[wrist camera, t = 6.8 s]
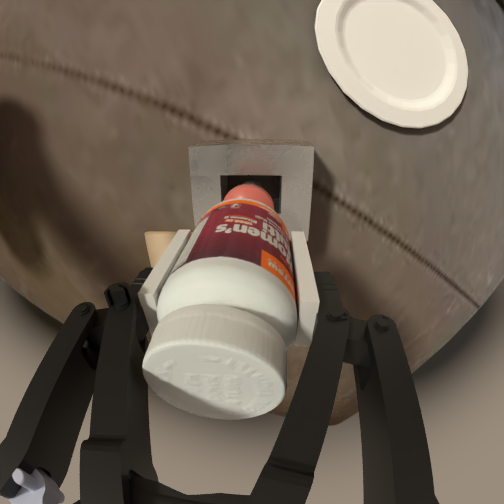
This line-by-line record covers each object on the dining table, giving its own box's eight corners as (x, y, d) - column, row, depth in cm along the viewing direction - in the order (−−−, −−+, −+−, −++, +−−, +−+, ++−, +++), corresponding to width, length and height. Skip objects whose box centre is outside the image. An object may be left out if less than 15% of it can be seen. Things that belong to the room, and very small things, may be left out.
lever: (230, 211, 29) (221, 237, 24) (229, 170, 27) (218, 187, 21) (272, 211, 29) (273, 238, 23) (273, 171, 27) (274, 188, 21)
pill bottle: (305, 219, 17) (341, 366, 8) (264, 289, 20) (257, 435, 10) (215, 180, 16) (138, 296, 7) (186, 258, 19) (124, 394, 10)
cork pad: (157, 286, 40) (156, 288, 39) (146, 231, 35) (144, 233, 35) (215, 289, 39) (215, 291, 39) (210, 231, 35) (209, 233, 34)
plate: (419, 160, 28) (425, 163, 27) (278, 58, 24) (279, 56, 23) (479, 55, 19) (486, 54, 18) (358, -45, 15) (362, -50, 13)
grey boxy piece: (205, 222, 34) (196, 240, 30) (200, 140, 29) (188, 146, 25) (302, 223, 34) (307, 242, 29) (307, 140, 29) (314, 146, 24)
